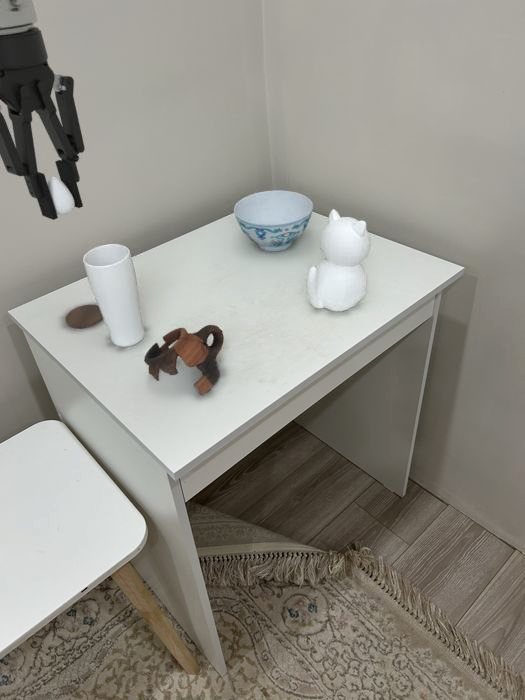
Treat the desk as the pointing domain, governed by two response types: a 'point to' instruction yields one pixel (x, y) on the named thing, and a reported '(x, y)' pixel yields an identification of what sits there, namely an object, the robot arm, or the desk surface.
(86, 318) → the coaster
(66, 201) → the egg
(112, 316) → the drinking glass
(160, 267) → the desk surface
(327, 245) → the cat figurine
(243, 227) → the chinaware
